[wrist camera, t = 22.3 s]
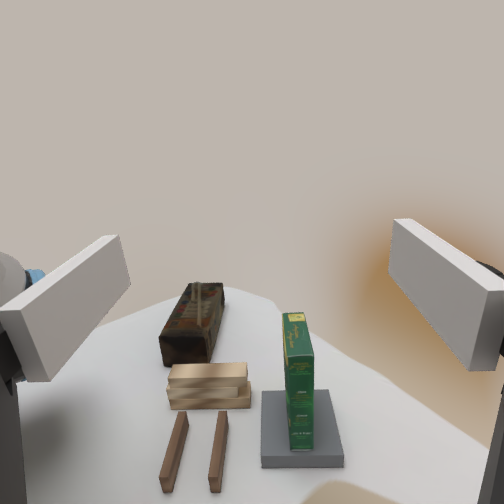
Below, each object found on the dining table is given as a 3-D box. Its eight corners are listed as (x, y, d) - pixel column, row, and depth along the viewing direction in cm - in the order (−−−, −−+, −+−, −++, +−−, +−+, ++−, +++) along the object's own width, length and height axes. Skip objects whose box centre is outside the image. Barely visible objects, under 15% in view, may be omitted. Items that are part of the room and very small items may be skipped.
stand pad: (262, 467, 35) (260, 455, 34) (262, 401, 43) (261, 390, 43) (343, 467, 34) (343, 455, 34) (328, 400, 43) (328, 389, 42)
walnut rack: (163, 492, 33) (158, 477, 32) (181, 425, 41) (178, 411, 40) (220, 492, 33) (217, 477, 32) (228, 424, 40) (226, 410, 39)
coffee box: (284, 393, 42) (281, 310, 37) (306, 393, 42) (305, 309, 37) (288, 451, 35) (284, 357, 30) (314, 451, 34) (315, 356, 29)
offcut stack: (170, 409, 43) (163, 379, 41) (176, 392, 46) (169, 363, 44) (250, 408, 43) (247, 377, 41) (251, 390, 45) (248, 361, 43)
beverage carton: (227, 305, 68) (224, 278, 65) (210, 370, 50) (204, 336, 48) (191, 306, 69) (186, 279, 66) (162, 370, 51) (154, 337, 48)
